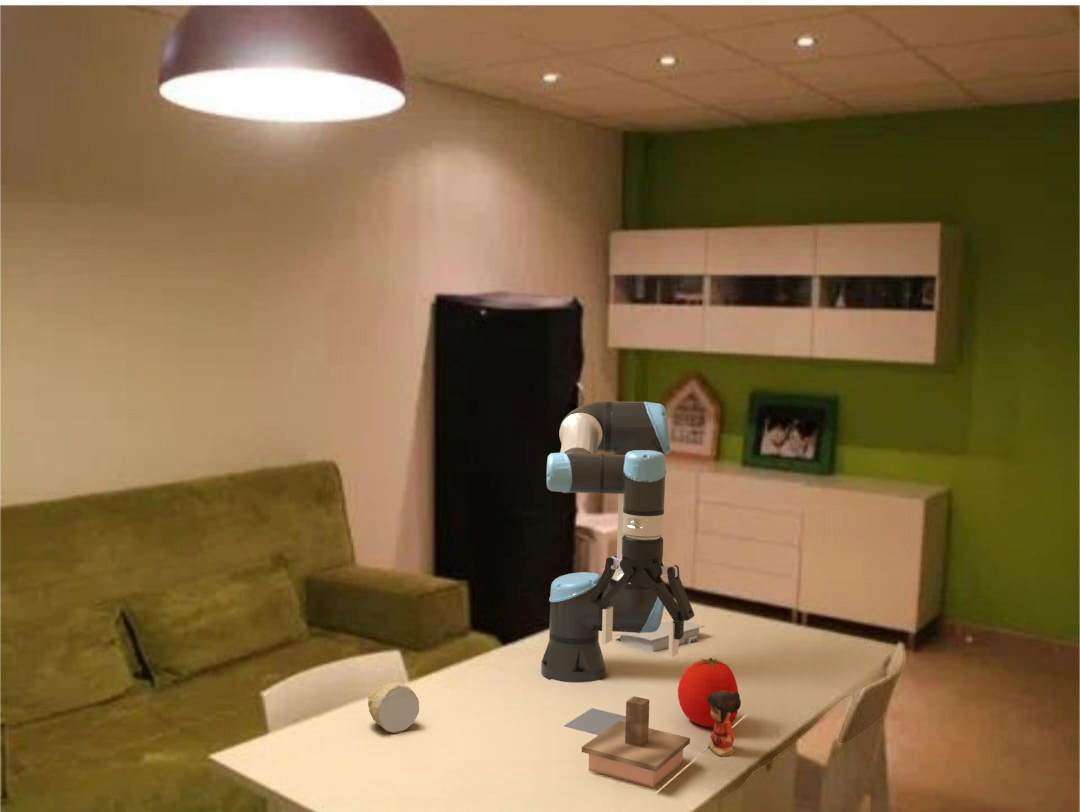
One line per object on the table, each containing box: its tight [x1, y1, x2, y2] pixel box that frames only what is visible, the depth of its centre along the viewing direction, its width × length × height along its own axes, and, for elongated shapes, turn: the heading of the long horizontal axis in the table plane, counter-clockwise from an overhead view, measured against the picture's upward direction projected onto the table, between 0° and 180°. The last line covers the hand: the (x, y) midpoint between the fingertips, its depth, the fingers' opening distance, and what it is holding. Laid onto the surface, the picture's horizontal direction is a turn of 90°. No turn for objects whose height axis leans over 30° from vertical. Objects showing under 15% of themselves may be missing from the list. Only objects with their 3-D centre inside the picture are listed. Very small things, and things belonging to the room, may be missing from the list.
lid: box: [581, 696, 691, 772], centre depth 193 cm, size 15×15×9 cm
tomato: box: [677, 657, 739, 729], centre depth 215 cm, size 13×11×14 cm
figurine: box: [707, 690, 742, 757], centre depth 203 cm, size 6×6×12 cm
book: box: [612, 620, 705, 652], centre depth 273 cm, size 15×23×4 cm, turn 131°
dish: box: [588, 749, 684, 789], centre depth 194 cm, size 13×13×4 cm
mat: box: [563, 707, 626, 736], centre depth 214 cm, size 12×12×1 cm
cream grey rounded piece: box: [367, 681, 420, 734], centre depth 211 cm, size 10×10×10 cm
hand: (639, 649), depth 192 cm, fingers open, 13 cm apart
